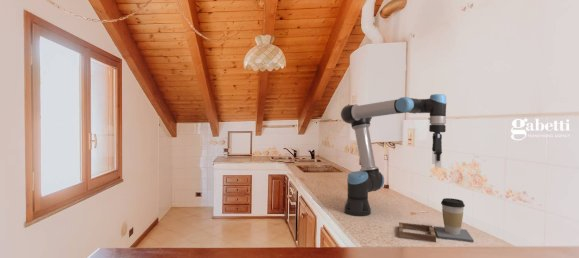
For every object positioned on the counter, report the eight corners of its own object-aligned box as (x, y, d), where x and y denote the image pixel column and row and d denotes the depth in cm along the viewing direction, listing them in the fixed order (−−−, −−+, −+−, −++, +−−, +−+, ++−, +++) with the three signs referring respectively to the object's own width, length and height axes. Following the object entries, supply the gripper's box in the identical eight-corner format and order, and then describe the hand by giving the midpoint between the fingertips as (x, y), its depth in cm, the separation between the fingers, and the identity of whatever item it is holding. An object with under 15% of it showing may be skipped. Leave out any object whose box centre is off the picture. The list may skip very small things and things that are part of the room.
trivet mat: (434, 228, 149) (434, 226, 149) (466, 231, 144) (466, 229, 144) (438, 238, 136) (438, 236, 136) (473, 242, 131) (473, 240, 131)
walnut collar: (398, 227, 150) (398, 222, 150) (431, 230, 145) (431, 225, 145) (399, 237, 136) (399, 232, 136) (436, 242, 131) (436, 236, 131)
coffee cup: (456, 228, 146) (456, 197, 145) (469, 236, 136) (469, 203, 136) (436, 228, 145) (436, 197, 145) (447, 236, 135) (448, 203, 135)
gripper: (427, 124, 168) (426, 162, 168) (431, 124, 144) (430, 168, 145) (442, 124, 165) (441, 163, 165) (449, 124, 142) (447, 169, 142)
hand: (436, 165), depth 155 cm, fingers open, 13 cm apart
